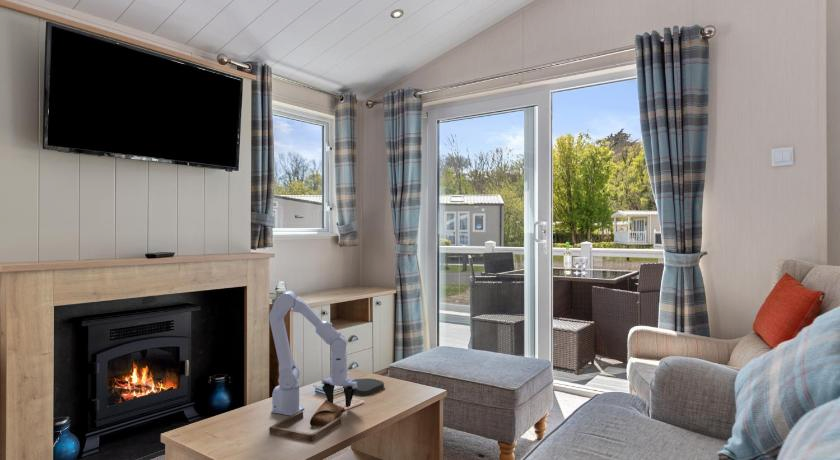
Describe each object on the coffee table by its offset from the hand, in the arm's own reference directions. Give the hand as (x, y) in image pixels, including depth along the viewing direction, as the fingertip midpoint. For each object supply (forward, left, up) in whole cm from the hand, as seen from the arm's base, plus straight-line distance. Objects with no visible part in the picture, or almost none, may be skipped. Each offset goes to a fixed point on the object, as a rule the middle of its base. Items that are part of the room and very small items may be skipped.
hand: (339, 405), depth 188 cm
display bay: (0, -20, -1) cm, 20 cm away
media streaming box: (-4, +24, -2) cm, 24 cm away
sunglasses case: (+1, -9, -2) cm, 9 cm away
